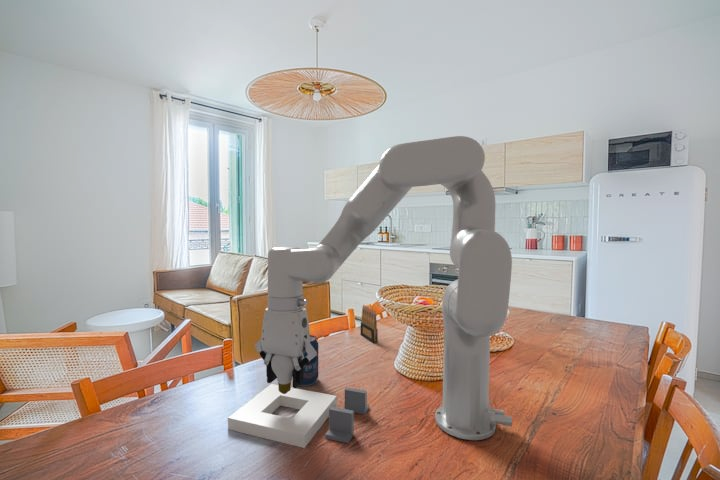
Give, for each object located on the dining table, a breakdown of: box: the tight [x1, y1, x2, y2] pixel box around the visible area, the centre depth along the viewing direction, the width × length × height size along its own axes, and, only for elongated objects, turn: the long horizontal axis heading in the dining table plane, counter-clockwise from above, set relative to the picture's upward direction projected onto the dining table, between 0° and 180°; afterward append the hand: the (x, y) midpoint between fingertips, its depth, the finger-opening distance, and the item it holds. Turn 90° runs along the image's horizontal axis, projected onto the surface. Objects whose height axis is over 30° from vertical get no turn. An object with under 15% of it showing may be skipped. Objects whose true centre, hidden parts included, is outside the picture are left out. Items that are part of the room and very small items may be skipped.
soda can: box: [299, 334, 319, 387], centre depth 93 cm, size 7×7×12 cm
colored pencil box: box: [360, 304, 379, 344], centre depth 128 cm, size 11×2×12 cm, turn 26°
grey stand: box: [324, 387, 370, 444], centre depth 74 cm, size 5×14×5 cm, turn 161°
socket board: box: [227, 383, 338, 449], centre depth 76 cm, size 18×16×2 cm
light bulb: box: [271, 354, 295, 394], centre depth 75 cm, size 6×6×10 cm
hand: (284, 382), depth 76 cm, fingers closed on light bulb, 5 cm apart
